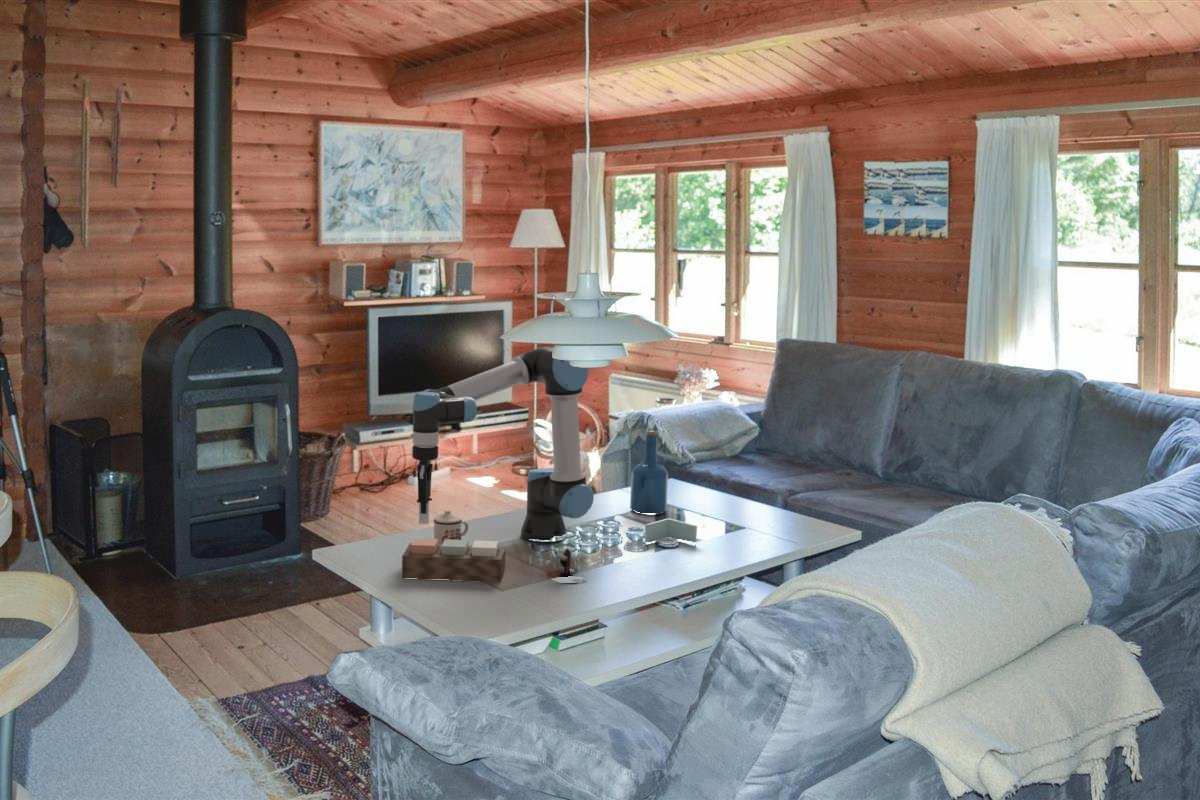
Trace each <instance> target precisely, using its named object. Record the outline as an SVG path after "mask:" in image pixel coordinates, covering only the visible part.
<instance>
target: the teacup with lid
mask: <svg viewBox="0 0 1200 800" xmlns="http://www.w3.org/2000/svg"><path fill="white" fill-rule="evenodd" d="M463 524H464V527H465V528H464V530H463V532H462V525H463ZM468 530H469V523H467V522H466V521H464V520H463V519H462V517H461V516H460V515H458V514H455V513H453V512H452V511H451V509H446V510H445V511H444V512H443V513H441V514H439V515H436V516H435V517H434V518H433V539H438V544H443V542H444V540H445V539H450V540H462V538H463V536H465V535H466V534H467V532H469V531H468Z"/></svg>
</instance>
